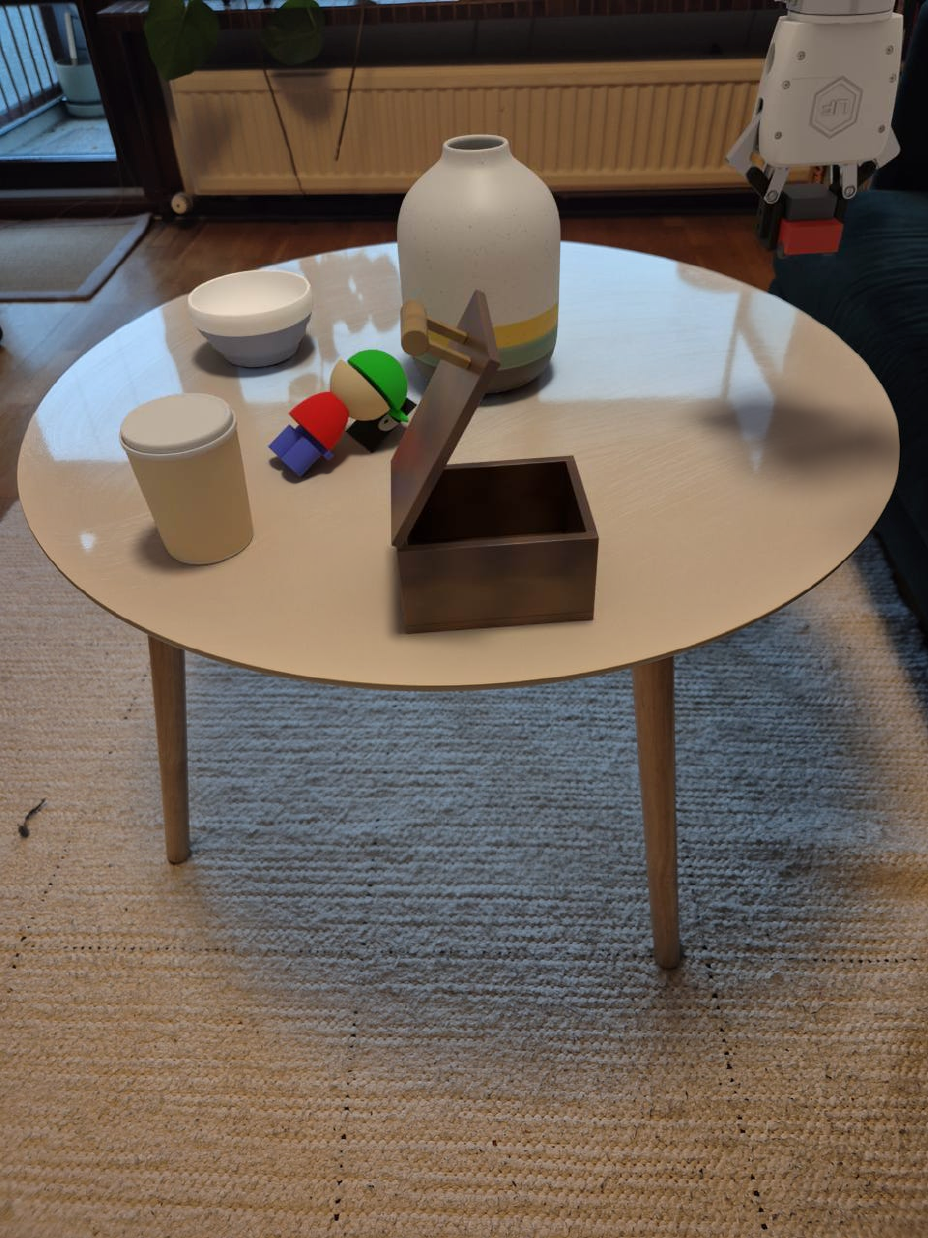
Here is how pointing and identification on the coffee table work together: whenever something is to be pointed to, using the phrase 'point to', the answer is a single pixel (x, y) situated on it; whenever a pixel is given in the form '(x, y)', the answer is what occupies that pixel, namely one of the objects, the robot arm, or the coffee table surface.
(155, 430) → the coffee cup
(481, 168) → the vase
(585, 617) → the chest
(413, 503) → the lid
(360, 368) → the toy
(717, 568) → the coffee table surface
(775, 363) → the coffee table surface
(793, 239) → the car
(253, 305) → the bowl
